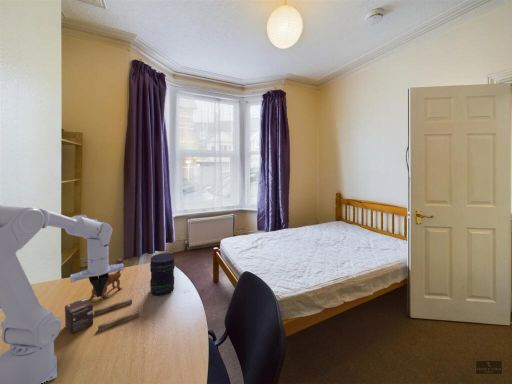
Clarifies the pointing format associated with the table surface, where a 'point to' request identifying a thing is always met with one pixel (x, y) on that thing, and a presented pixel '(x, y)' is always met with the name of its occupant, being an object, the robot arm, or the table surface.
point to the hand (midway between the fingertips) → (99, 295)
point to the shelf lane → (119, 320)
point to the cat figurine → (110, 281)
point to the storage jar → (162, 274)
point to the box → (78, 315)
